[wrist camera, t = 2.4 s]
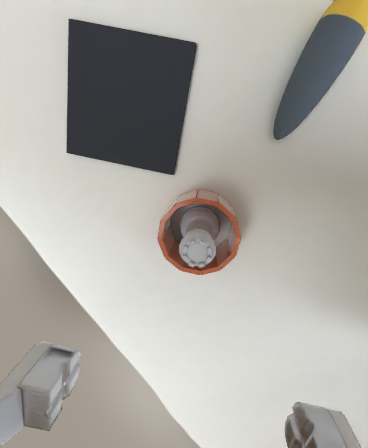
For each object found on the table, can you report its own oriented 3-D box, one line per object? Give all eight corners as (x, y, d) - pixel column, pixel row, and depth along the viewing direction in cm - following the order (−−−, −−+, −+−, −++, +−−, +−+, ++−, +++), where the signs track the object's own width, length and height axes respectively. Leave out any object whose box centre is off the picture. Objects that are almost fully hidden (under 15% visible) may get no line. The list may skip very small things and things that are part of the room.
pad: (196, 45, 21) (196, 42, 20) (174, 174, 25) (173, 175, 24) (72, 21, 21) (68, 18, 21) (69, 152, 25) (66, 152, 25)
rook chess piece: (177, 208, 26) (165, 233, 18) (216, 202, 25) (220, 225, 18) (184, 243, 27) (175, 280, 20) (221, 239, 27) (227, 275, 19)
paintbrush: (306, 152, 23) (332, 153, 18) (261, 135, 23) (275, 131, 18) (448, -118, 16) (547, -228, 11) (385, -144, 16) (458, -266, 11)
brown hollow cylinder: (242, 198, 25) (250, 208, 21) (224, 261, 27) (228, 281, 23) (172, 183, 25) (165, 190, 21) (161, 247, 28) (153, 264, 23)
